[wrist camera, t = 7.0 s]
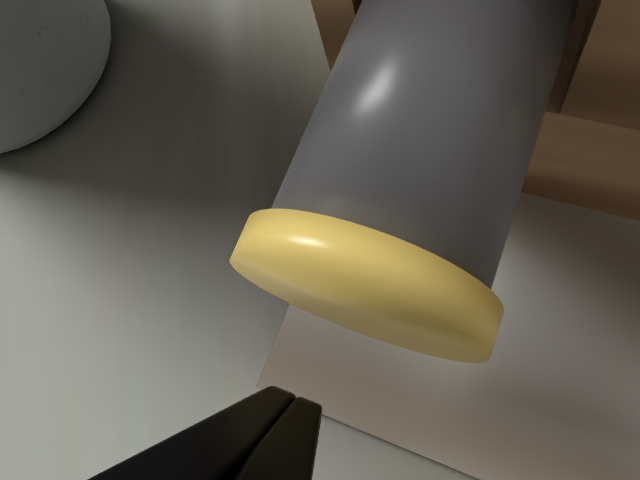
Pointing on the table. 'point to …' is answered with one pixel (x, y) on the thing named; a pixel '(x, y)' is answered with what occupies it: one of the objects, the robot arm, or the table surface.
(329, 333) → the console
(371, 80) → the knob
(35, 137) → the water bottle
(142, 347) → the table surface
